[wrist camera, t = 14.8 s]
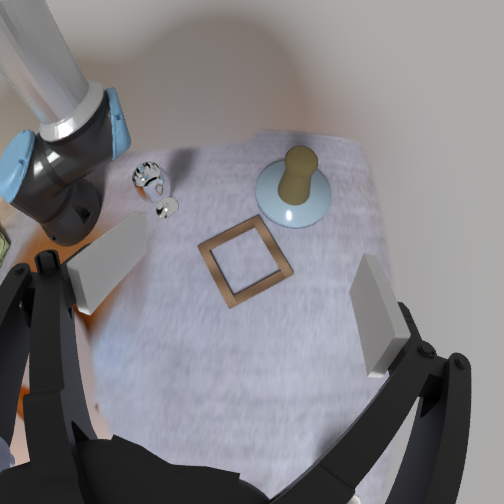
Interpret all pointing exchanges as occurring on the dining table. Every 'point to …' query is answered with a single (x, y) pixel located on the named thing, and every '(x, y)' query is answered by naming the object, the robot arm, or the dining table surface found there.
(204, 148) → the dining table surface
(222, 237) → the walnut frame
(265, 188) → the saucer
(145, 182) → the wineglass
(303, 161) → the cork
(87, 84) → the robot arm
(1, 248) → the washcloth
